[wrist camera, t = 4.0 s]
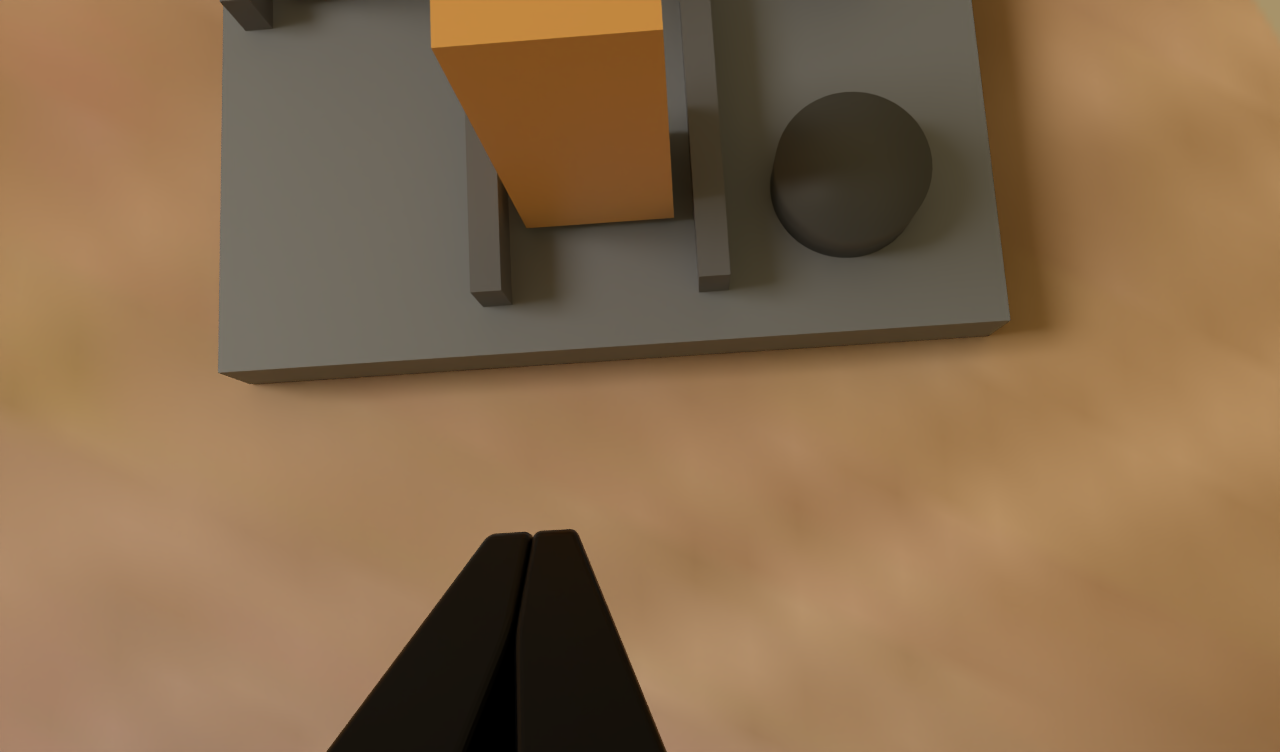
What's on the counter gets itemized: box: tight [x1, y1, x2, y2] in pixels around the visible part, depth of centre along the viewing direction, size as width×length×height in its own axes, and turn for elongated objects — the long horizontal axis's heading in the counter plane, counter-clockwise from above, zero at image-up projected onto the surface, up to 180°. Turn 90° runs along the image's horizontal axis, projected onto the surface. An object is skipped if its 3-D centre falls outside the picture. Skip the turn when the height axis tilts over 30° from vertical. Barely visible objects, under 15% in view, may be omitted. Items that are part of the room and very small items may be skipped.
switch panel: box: [218, 0, 1010, 384], centre depth 21 cm, size 12×16×4 cm
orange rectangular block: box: [430, 0, 674, 228], centre depth 17 cm, size 2×3×8 cm, turn 93°
